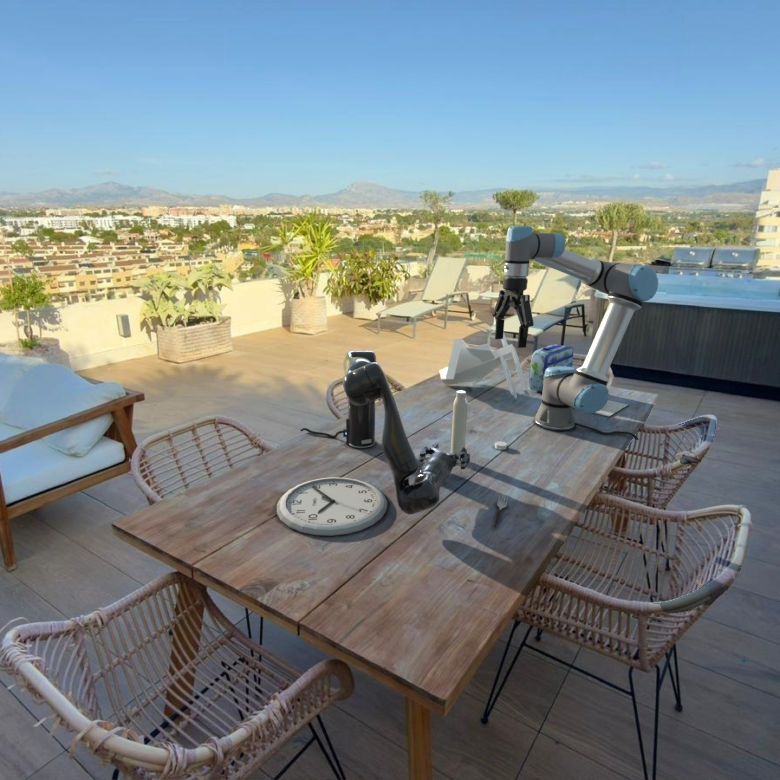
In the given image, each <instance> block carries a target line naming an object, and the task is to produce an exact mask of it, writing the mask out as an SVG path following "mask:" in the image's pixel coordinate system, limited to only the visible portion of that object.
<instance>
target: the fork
mask: <svg viewBox="0 0 780 780" xmlns="http://www.w3.org/2000/svg"><path fill="white" fill-rule="evenodd" d="M503 497H504V498H503ZM508 498H509V495H507V497H506V493H505V494H502V495H498V499H497V503H496V506H497V507H498V508H499V509H498V511H497V513H496V514H495V520H494V525H493V527H494V528H496V526H497V524H498V523H499V521H500V520H501V519H500V518H501V513H502V509H505V508H506V507H507V506H508V500H509V499H508Z"/></svg>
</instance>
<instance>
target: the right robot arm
mask: <svg viewBox="0 0 780 780" xmlns="http://www.w3.org/2000/svg"><path fill="white" fill-rule="evenodd" d="M530 260H531V261H533V262H536V263H538V264H541V265H543V266H546V267H549V268H551V269H553V270H555V271H558V272H561V273H563V274H566V275H568V276H571V277H573V278H575V279H578V280H580V282H581V283H582V284H583V285H586V286H588V287H590V288H592V289H594V290H596V291H598V292H600V293H603V294H605V295H607V301H608V306H607V308H606V310H605V313H604V315H603V317H602V319H601V322H600V324H599V325H598V329H597V331H596V333H595V336H594V338H593V340H592V342H591V345H590V347H589V349H588V351H587V352H588V353H587V354H586V356H585V358H584V361H583V363H582V366H580V367H578V368H576V367H573V366H572V367H565V366H556V367H549V368H547V369H546V370H545V374H544V381H543V391H542V392H541V393H542V394H541V402H540V405H539V407H538V410H537V411H536V413H535V417H534V424H535V425H536V426H537V427H539V428H542V429H544V430H549V431H556V432H567V431H572V430H574V429H575V428H576V426H577V427H581V428H583V429H587V430H590V431H594V432H595V433H599V434H601V435H607V436H610V435H617V434H618V435H628V436H630V437H632V438H634V439H635V440H637V441H639V438H638V436H637V435H636V434H634V433H633V432H630V431H622V430H621V431H620V430H614V431H602V430H600V429H597V428H596V427H595V428H594V427H591V426H588V425H586V424H582V423H579V422H576V418H575V417H576V416H575V413H574V409H575V410H576V411H577V412H580V413H584V414H587V415H593V414H596V413H595V412H597V411H599V410H601V409H602V408H603V407H604V406H605V404H606V403H607V401H608V400H609V398H610V393H609V389H608V387H607V386H608V383H609V380H608V379H609V378H607V374H608V372H609V369H610V367H611V365H612V362H613V360H614V358H615V356H616V354H617V351H618V349H619V347H620V345H621V343H622V340H623V338H624V336H625V333H626V332H627V329H628V326H629V324H630V323H631V321H632V320H631V319H632V317H633V315H634V313H635V312H636V311H637V310H640V309H642V306H643V304H644V302H648V301H650V300H651V299H653V298H654V296H655V295H656V293H657V292H658V288H659V278H658V275H657V272H656V270H654V268H652V267H651V266H648V265H643V264H638V263H637V264H634V263H625V262H624V263H623V262H611V261H604V260H601V259H598V258H591V259H590V258H588V257H586V256H583V255H581V254H578V253H576V252H574V251H571V250H568V249H566V238H565V236H564V235H563V234H562V233H558V232H557V233H556V232H533V227H532V226H529V225H528V226H527V225H511V226H509V227H508V228H507V232H506V239H505V255H504V267H503V275H504V276H503V278H502V289H500V290H499V291H498V298H497V300H496V303H495V306H494V308H493V311H492V317H493V318H494V317H495V318H494V320H495V319H496V321H495V331H494V332H495V333H494V340H501V339H503V332H504V333H505V331H504V330H505V319H506V318H505V316H506V314H507V313H508V311H509V309H510V308H513V309H514V310H515V313H516V315H517V318H518V321H519V324H520V325H519V327H518V337H517V348H518V349H525V348H527V341H528V336H529V328H530V327H534V319H533V313H532V312H533V311H532V307H531V296H530V294H524V291H526V290H527V289H528V281H529V279H528V278H527V277H528V276H529V271H530Z"/></svg>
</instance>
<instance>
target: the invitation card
mask: <svg viewBox="0 0 780 780" xmlns="http://www.w3.org/2000/svg"><path fill="white" fill-rule="evenodd" d="M628 406H629V404H627V403H623V402H618V401H614V400H609V399H608V401H607V403H606V404H605V406H604V407H603V408H602V409H601V410H599V411H597V412H595V413H594V414H596V415H600V416H604V417H608V418H609V417H611V416H613V415H614V414H616V413H617V412H619V411H621V410H623V409H624V408H626V407H628Z"/></svg>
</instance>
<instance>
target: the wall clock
mask: <svg viewBox="0 0 780 780" xmlns="http://www.w3.org/2000/svg"><path fill="white" fill-rule="evenodd" d="M387 509H388V500H387V498H386V496H385V494H384V493H383V492H382V491H381V490H380V489H379V488H377V487H376V486H374V485H372V484H371V483H369V482H365V481H362V480H359V479H355V478H349V477H338V476H337V477H335V476H333V477H332V476H331V477H322V478H317V479H312V480H307V481H305V482H302V483H299V484H297V485H295V486H293V487H292V488H290V489H288V490H287V491H286V492H285V493H284V494H283V495H281V496H280V498H279V499H278V502H277V503H276V515H277V517H278V518H279V520H280V521H281V522H282V523H283V524H285V525H286V526H287V527H288V528H290V529H293V530H295V531H297V532H299V533H303V534H308V535H312V536H327V537H328V536H329V537H331V536H332V537H333V536H342V535H350V534H352V533H356V532H361V531H363V530H366V529H368V528H369V527H372V526H373V525H375V524H376V523H378V522H379V521H380V520H381V519H382V518H383V517H384V516H385V514H386V512H387Z"/></svg>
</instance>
